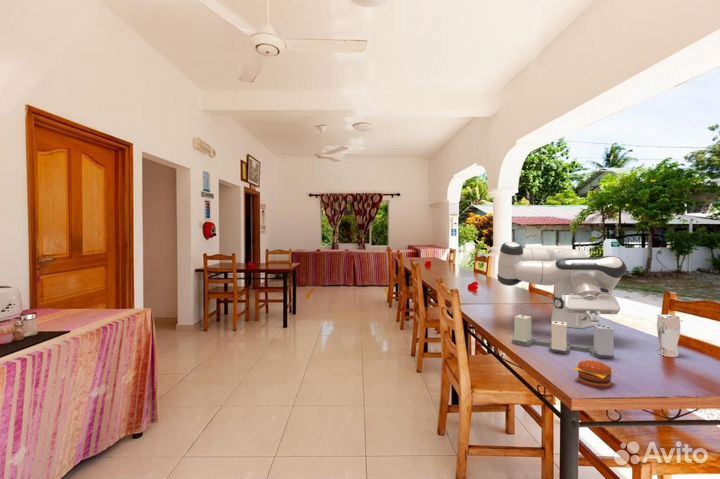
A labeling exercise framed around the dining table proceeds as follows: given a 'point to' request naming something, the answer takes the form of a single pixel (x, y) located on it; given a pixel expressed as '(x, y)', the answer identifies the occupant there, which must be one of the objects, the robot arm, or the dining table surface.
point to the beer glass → (668, 334)
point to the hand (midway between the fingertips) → (595, 321)
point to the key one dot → (522, 328)
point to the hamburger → (594, 374)
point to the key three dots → (603, 340)
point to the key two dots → (559, 335)
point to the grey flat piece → (569, 347)
